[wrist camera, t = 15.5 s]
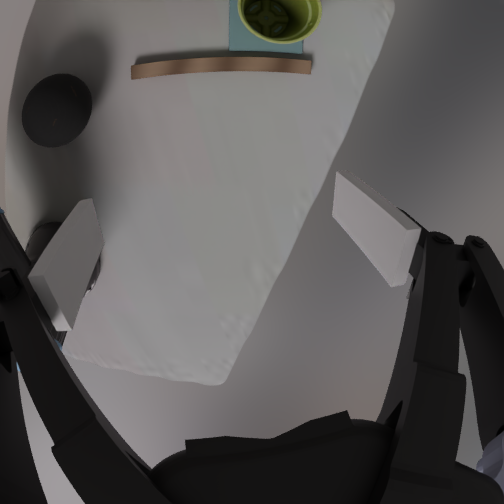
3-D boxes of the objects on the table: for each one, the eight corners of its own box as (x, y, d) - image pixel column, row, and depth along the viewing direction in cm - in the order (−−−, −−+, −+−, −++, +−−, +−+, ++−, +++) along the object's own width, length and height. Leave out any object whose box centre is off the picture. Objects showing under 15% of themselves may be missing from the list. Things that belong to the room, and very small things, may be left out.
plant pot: (313, 20, 31) (338, 10, 24) (268, 62, 34) (284, 59, 27) (263, -21, 27) (277, -41, 20) (216, 21, 30) (218, 7, 23)
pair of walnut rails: (134, 79, 33) (131, 79, 32) (134, -21, 24) (132, -24, 23) (307, 74, 36) (310, 74, 35) (309, -22, 27) (312, -25, 26)
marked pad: (229, 50, 33) (229, 50, 33) (229, -12, 28) (230, -13, 27) (301, 54, 34) (302, 53, 34) (302, -7, 29) (303, -8, 29)
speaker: (37, 128, 33) (2, 145, 25) (56, 66, 29) (20, 69, 21) (89, 145, 37) (61, 166, 29) (111, 82, 33) (85, 85, 24)
